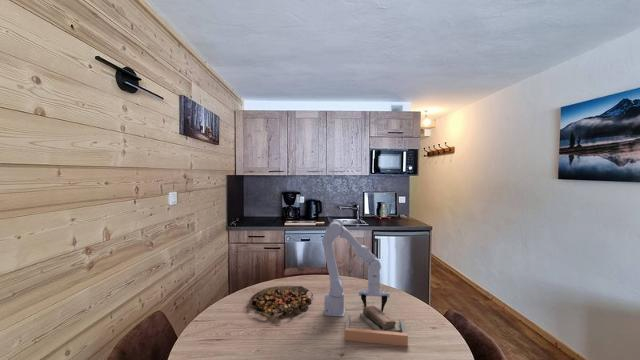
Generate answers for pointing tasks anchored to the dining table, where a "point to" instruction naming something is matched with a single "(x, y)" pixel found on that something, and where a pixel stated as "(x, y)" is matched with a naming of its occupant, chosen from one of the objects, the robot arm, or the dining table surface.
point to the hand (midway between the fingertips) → (373, 310)
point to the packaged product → (378, 319)
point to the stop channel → (376, 335)
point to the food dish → (281, 302)
